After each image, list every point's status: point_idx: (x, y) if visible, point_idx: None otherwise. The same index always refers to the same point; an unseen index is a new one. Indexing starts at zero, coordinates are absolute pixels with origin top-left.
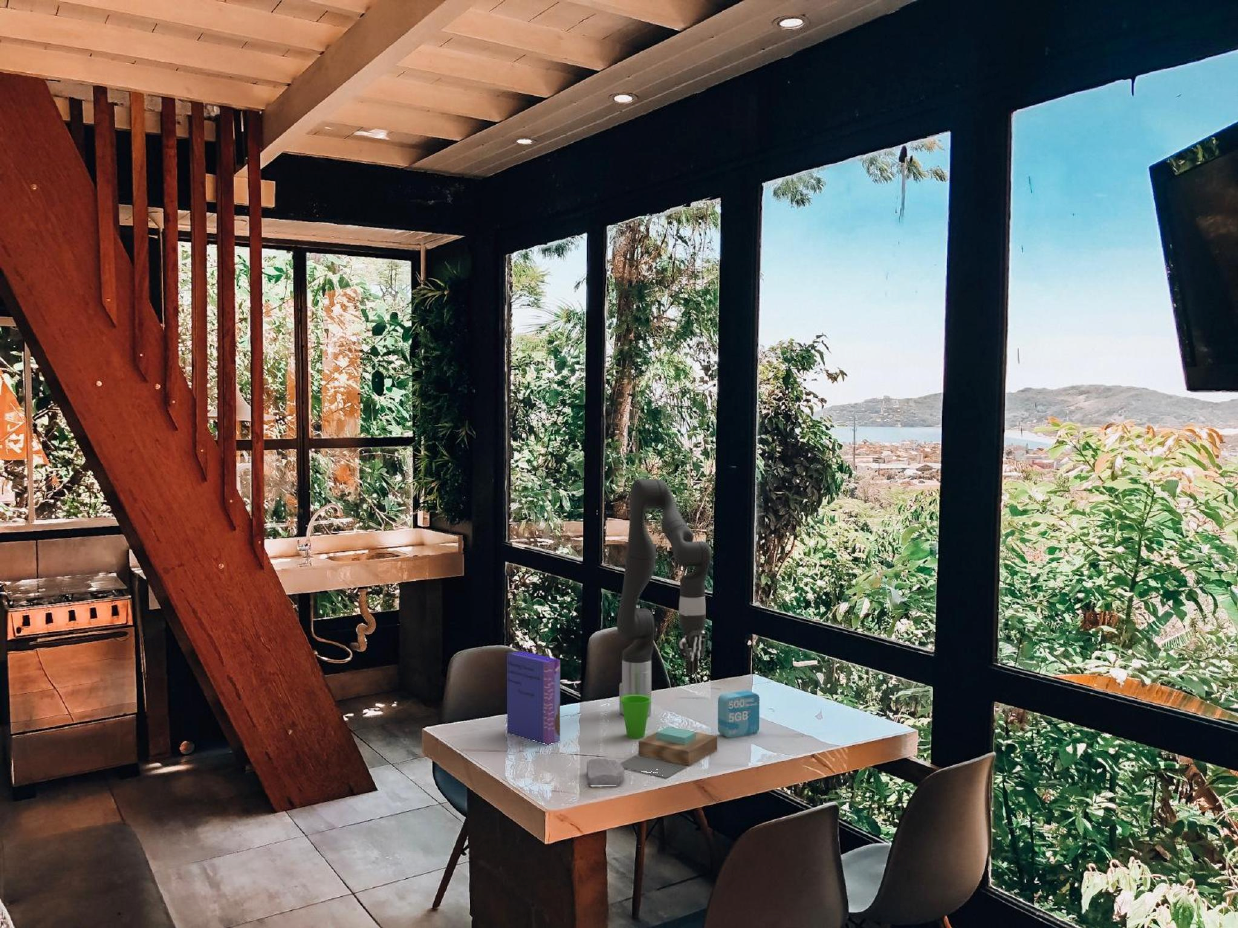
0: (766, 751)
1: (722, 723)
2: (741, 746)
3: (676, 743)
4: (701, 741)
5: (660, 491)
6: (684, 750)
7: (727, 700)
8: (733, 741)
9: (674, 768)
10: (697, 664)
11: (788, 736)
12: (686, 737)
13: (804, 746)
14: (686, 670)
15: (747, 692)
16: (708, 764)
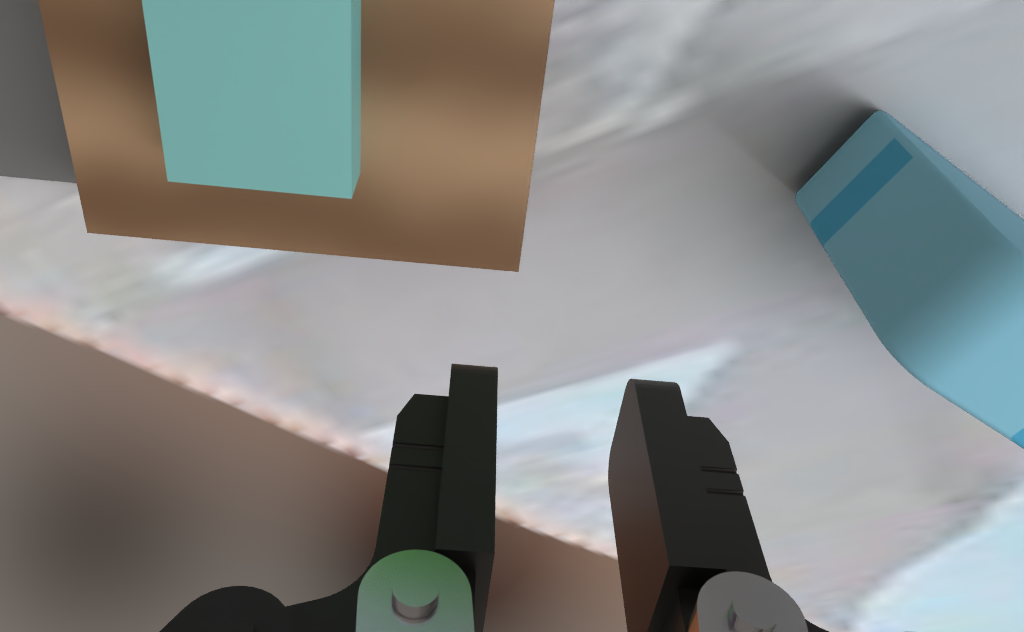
0: None
1: (849, 195)
2: (656, 314)
3: None
4: (341, 223)
5: None
6: (82, 199)
7: (895, 356)
8: (738, 244)
9: (2, 134)
10: (627, 577)
11: (933, 454)
12: (194, 181)
13: (779, 542)
14: (398, 422)
15: None
16: (240, 269)
